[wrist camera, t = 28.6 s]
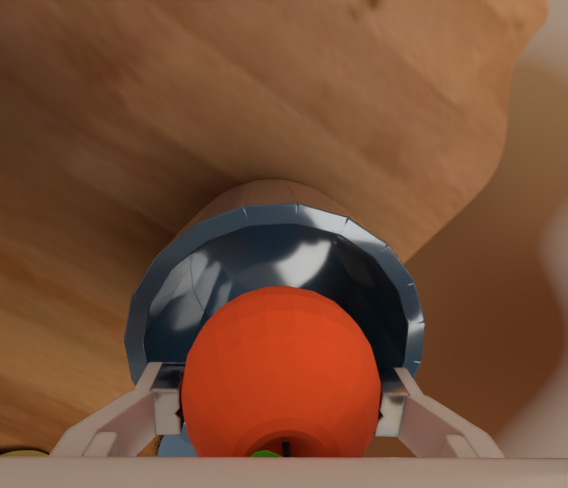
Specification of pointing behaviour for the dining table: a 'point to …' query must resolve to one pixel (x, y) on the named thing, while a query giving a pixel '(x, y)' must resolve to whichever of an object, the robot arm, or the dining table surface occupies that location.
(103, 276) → the dining table surface
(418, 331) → the canister
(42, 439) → the dining table surface
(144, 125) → the dining table surface
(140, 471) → the robot arm
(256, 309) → the clementine
